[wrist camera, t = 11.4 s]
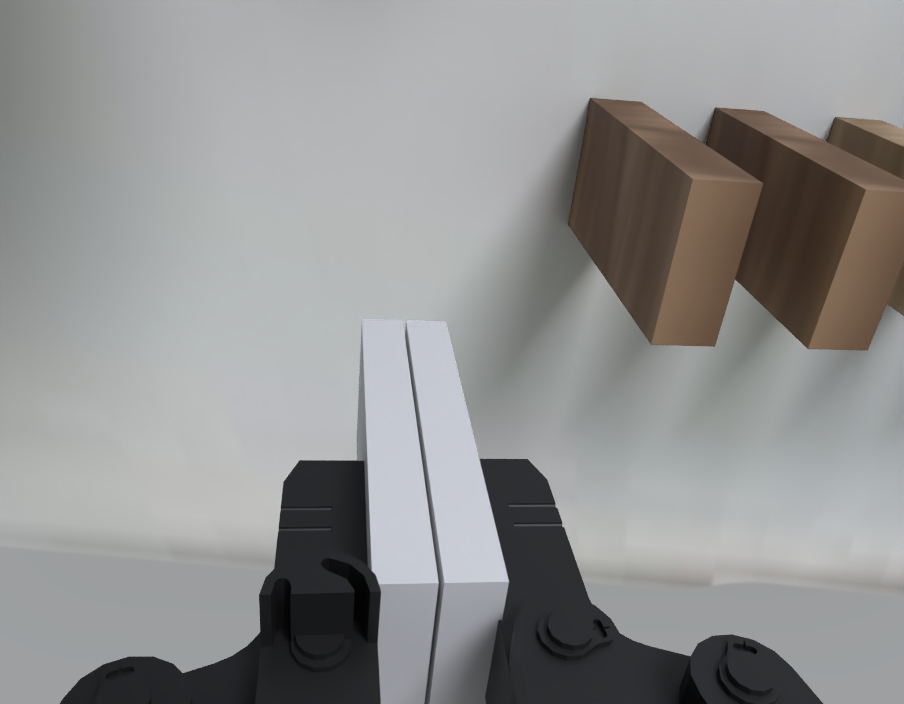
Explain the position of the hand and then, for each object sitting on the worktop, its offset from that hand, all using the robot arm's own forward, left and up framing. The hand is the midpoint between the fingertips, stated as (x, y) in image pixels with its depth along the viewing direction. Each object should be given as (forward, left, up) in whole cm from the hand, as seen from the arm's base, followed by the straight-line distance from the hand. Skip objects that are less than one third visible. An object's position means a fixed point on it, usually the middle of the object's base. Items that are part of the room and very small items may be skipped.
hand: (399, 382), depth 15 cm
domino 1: (+9, 0, -16) cm, 19 cm away
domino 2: (+14, 0, -16) cm, 22 cm away
